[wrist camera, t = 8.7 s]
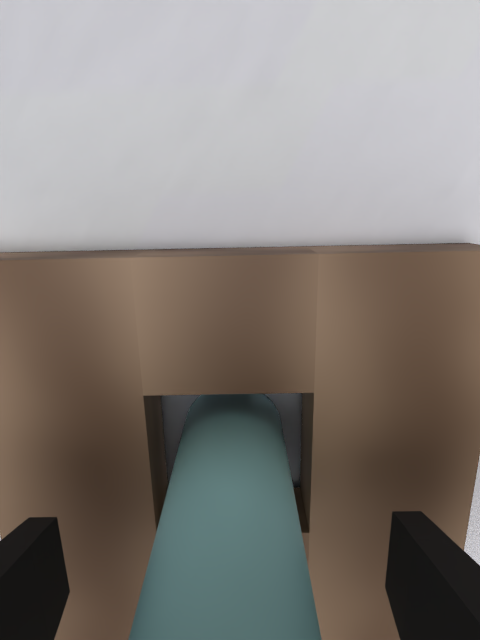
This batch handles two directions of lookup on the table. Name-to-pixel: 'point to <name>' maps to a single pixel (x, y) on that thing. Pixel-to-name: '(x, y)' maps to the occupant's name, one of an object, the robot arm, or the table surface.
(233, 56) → the table surface
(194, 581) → the teal pin
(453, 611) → the robot arm
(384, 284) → the pin board
